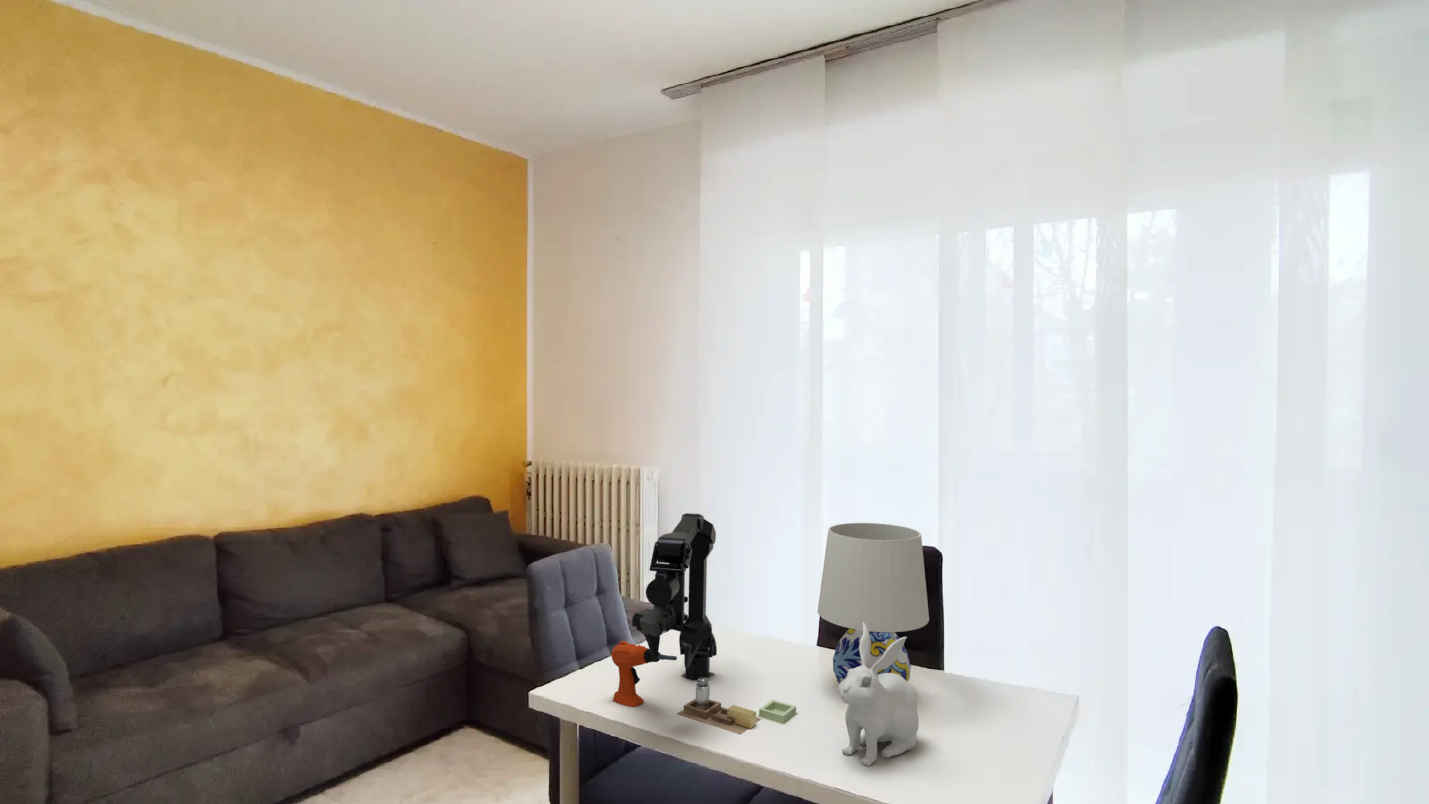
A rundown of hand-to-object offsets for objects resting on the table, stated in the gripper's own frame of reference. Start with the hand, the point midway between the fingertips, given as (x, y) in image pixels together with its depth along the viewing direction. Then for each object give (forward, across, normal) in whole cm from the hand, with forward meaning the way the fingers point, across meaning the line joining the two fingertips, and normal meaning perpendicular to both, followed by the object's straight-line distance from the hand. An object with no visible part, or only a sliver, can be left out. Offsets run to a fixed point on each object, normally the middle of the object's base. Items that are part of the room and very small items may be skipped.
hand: (670, 663), depth 163 cm
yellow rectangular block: (+13, +14, +8) cm, 20 cm away
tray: (+13, +18, +17) cm, 28 cm away
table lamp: (+14, +29, +44) cm, 54 cm away
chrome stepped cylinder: (+13, +3, +8) cm, 15 cm away
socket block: (+13, +8, +8) cm, 17 cm away
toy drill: (+14, -10, +2) cm, 17 cm away
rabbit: (+14, +42, +16) cm, 47 cm away
